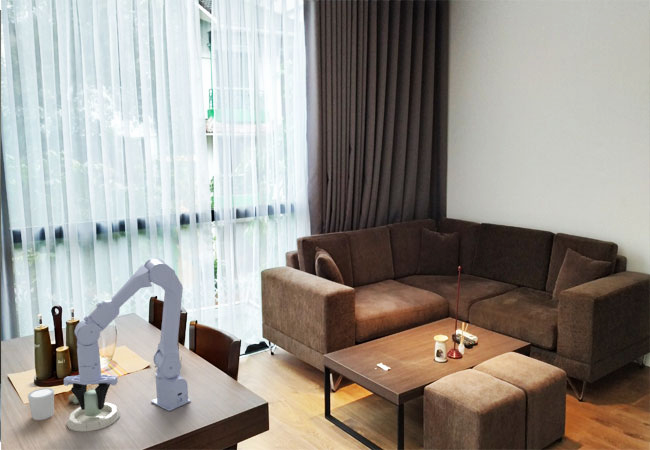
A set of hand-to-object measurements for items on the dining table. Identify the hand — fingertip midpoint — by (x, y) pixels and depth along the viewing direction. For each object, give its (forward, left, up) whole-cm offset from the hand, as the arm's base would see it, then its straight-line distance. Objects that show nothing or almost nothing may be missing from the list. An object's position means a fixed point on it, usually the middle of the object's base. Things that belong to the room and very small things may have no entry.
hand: (93, 408), depth 160 cm
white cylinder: (+14, +8, -4) cm, 17 cm away
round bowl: (0, 0, -3) cm, 3 cm away
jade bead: (0, 0, -2) cm, 2 cm away
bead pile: (+13, -3, -3) cm, 14 cm away
